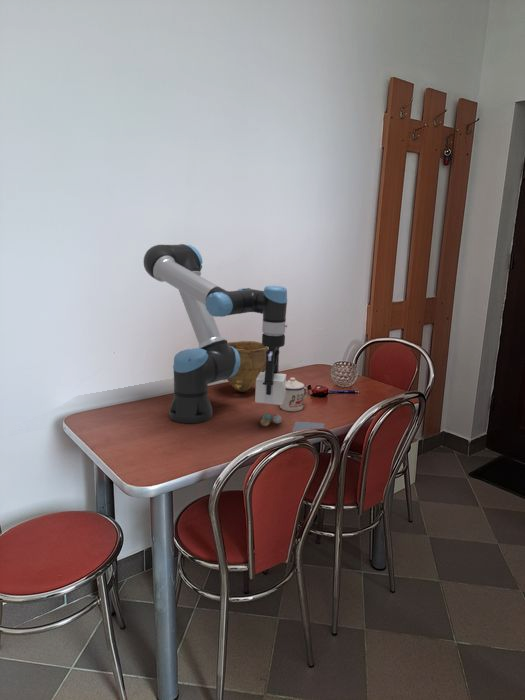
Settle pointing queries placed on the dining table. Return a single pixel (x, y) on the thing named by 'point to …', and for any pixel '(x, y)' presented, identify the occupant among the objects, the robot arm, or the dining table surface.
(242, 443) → the dining table surface
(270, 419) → the teal ball
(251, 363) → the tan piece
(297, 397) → the teacup with lid
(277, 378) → the cover
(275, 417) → the grey ball
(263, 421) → the cork ball
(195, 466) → the dining table surface
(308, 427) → the pad
